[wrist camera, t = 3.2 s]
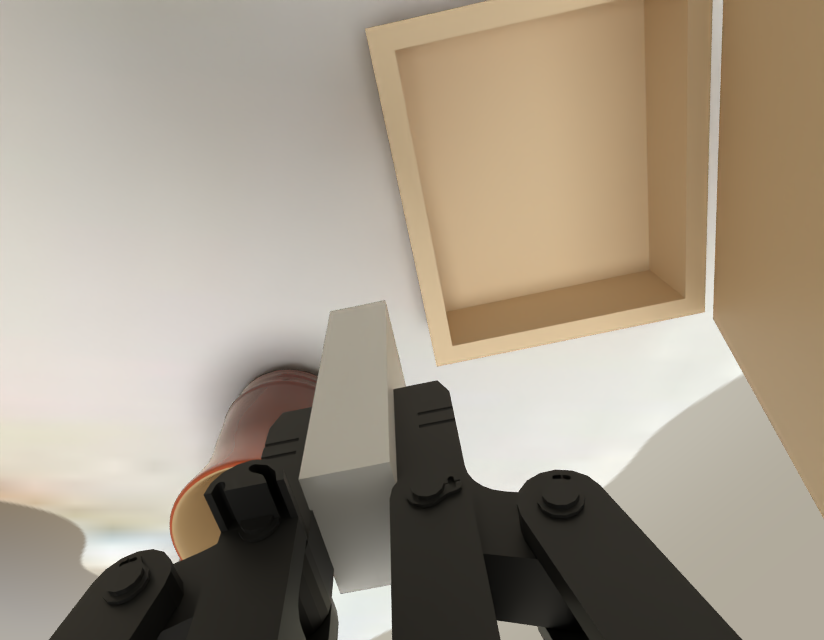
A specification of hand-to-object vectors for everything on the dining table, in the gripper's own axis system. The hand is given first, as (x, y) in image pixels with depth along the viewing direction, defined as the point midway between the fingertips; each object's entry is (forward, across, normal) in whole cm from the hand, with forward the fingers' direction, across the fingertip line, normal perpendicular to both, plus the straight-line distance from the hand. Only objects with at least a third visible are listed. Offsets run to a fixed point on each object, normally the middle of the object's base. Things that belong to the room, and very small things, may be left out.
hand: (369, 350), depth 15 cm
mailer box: (+17, +8, 0) cm, 19 cm away
